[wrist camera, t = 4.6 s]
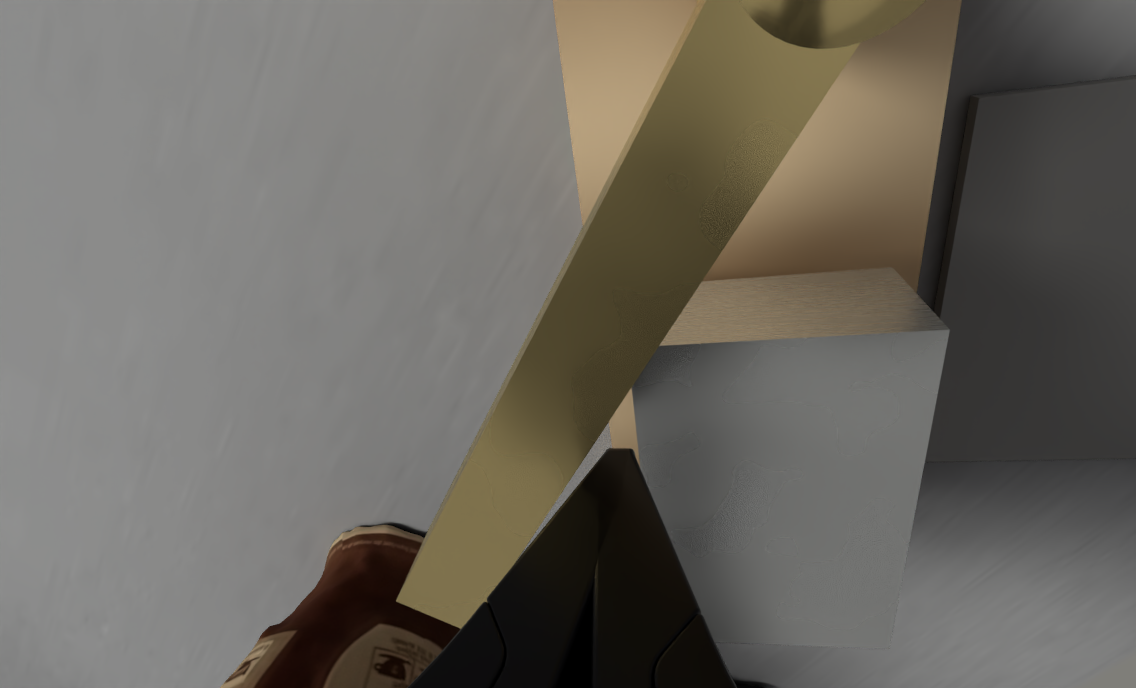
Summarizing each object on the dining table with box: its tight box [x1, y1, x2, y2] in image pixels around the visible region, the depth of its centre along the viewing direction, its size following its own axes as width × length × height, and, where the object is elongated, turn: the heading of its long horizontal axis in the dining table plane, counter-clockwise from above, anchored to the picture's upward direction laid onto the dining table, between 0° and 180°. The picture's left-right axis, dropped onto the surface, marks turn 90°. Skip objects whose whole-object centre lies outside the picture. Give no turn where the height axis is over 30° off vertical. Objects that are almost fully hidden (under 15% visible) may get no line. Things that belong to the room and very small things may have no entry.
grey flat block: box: [632, 267, 950, 649], centre depth 12 cm, size 8×5×2 cm, turn 8°
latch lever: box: [396, 0, 926, 629], centre depth 10 cm, size 12×2×6 cm, turn 155°
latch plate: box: [553, 0, 962, 466], centre depth 13 cm, size 17×7×4 cm, turn 8°
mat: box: [925, 75, 1136, 462], centre depth 14 cm, size 10×8×1 cm
